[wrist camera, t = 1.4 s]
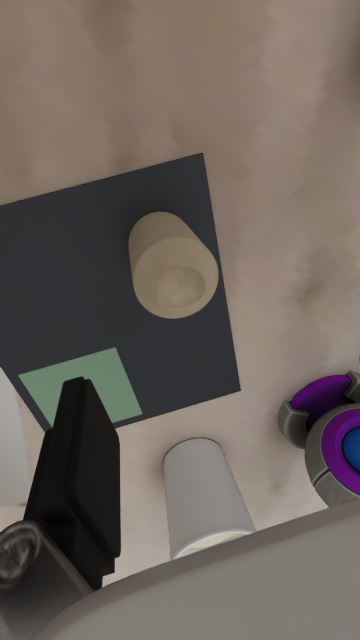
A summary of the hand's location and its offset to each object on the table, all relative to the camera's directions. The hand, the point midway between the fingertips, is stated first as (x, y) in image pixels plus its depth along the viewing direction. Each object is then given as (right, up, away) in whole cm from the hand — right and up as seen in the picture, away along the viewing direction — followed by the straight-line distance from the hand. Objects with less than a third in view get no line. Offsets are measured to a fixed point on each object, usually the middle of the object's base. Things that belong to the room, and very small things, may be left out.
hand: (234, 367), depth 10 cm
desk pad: (-8, +1, +20) cm, 22 cm away
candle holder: (0, -17, +32) cm, 37 cm away
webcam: (+18, -10, +32) cm, 38 cm away
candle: (-4, +8, +17) cm, 19 cm away
